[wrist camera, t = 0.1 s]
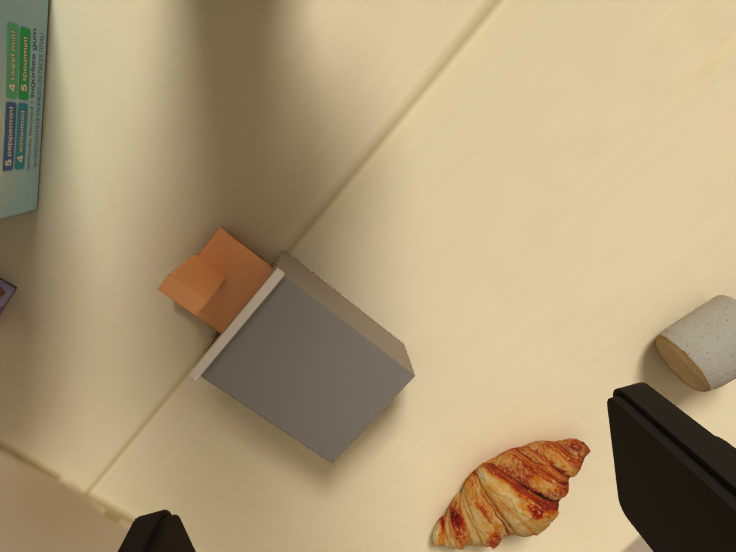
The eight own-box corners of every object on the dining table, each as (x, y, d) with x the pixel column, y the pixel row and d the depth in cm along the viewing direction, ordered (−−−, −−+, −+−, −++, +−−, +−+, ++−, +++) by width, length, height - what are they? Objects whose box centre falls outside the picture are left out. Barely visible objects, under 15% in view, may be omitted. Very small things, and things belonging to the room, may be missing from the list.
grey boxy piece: (210, 339, 48) (187, 376, 40) (285, 248, 46) (276, 269, 38) (331, 422, 52) (330, 470, 44) (405, 342, 50) (418, 378, 42)
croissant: (439, 522, 61) (470, 588, 55) (402, 509, 54) (433, 583, 48) (574, 429, 58) (621, 488, 52) (552, 403, 51) (604, 468, 45)
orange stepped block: (165, 291, 45) (133, 320, 38) (217, 225, 44) (194, 242, 36) (298, 384, 49) (293, 427, 42) (350, 327, 47) (353, 360, 40)
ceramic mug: (639, 328, 51) (691, 361, 44) (704, 284, 50) (768, 310, 43) (678, 393, 54) (733, 434, 47) (740, 353, 53) (806, 388, 46)
